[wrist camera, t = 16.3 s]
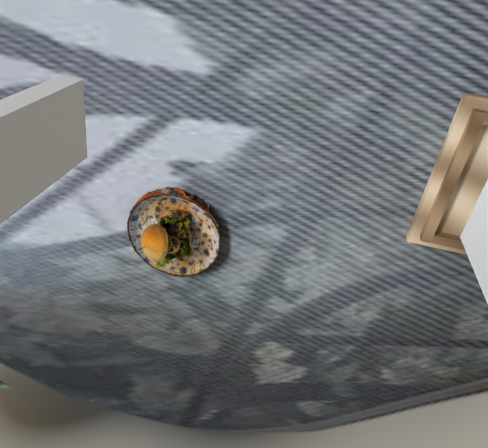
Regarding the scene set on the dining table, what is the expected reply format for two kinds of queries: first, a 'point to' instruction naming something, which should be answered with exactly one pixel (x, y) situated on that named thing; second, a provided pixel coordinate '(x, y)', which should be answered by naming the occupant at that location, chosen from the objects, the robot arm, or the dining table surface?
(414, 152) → the dining table surface
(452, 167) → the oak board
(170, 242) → the burger
